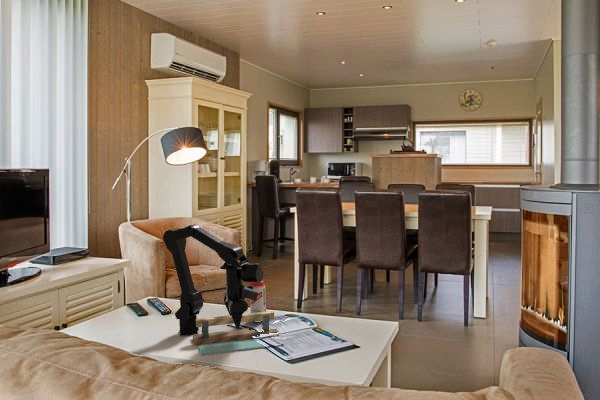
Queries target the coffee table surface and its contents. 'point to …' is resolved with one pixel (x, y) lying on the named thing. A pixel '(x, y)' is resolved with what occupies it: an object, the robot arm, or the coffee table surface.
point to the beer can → (258, 298)
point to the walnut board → (228, 336)
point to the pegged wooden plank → (264, 326)
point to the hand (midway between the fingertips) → (235, 324)
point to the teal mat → (229, 347)
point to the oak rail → (228, 319)
